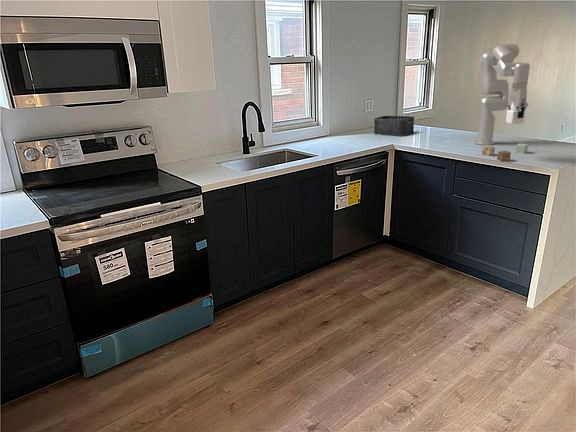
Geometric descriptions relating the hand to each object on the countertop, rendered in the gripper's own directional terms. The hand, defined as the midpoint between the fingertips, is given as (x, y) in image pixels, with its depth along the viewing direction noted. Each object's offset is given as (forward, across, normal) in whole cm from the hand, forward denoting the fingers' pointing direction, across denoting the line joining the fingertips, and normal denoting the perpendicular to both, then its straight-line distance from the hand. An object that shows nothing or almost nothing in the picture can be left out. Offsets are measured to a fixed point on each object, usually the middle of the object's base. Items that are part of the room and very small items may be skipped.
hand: (515, 116), depth 247 cm
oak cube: (+24, -10, -8) cm, 27 cm away
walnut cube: (+24, +6, -9) cm, 26 cm away
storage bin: (+25, -106, -28) cm, 112 cm away
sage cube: (+24, -7, +13) cm, 28 cm away
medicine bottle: (+4, 0, 0) cm, 4 cm away
